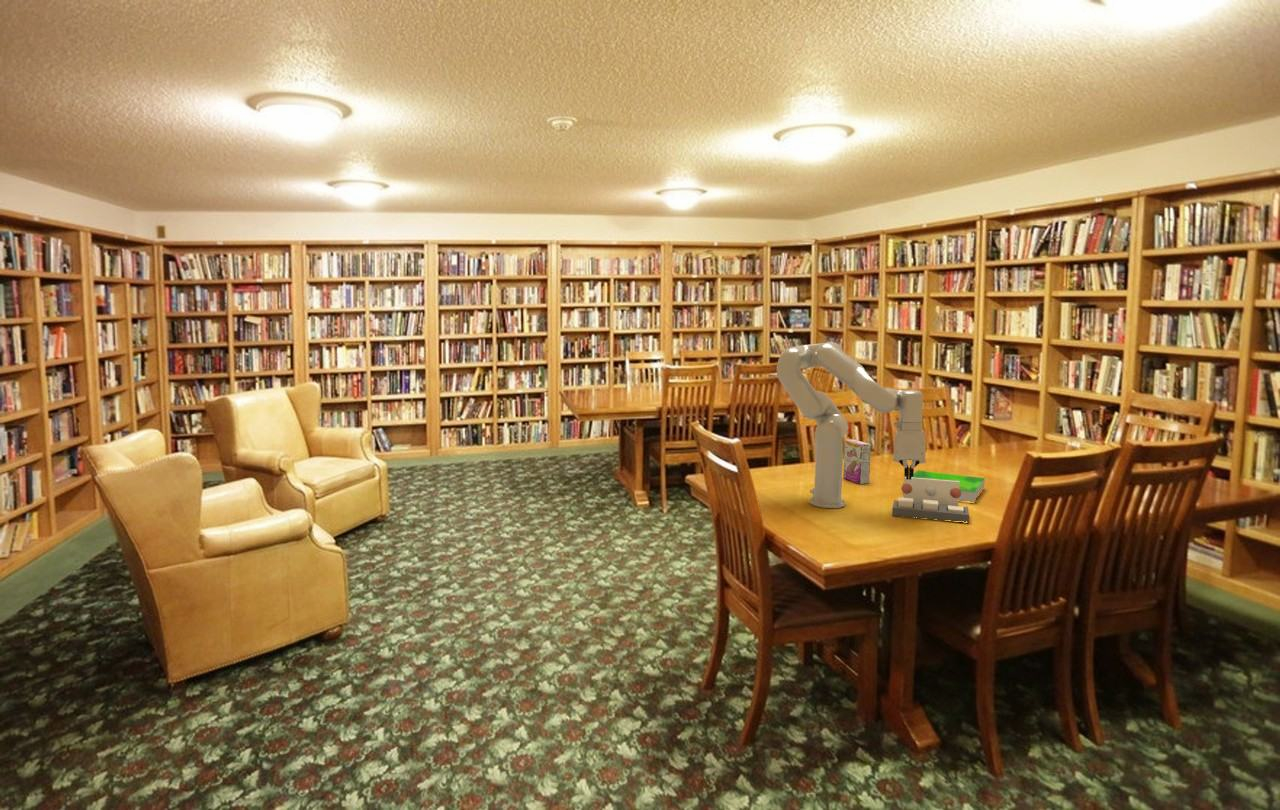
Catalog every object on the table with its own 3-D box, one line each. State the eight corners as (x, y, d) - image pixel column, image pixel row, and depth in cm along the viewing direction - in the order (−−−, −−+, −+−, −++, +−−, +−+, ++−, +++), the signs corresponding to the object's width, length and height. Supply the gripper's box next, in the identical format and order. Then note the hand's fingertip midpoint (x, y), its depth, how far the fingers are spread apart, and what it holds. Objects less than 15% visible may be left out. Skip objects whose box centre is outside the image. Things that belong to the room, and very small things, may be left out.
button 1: (897, 509, 252) (898, 500, 251) (898, 505, 256) (898, 497, 256) (912, 510, 250) (912, 502, 249) (912, 506, 254) (913, 498, 254)
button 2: (947, 517, 246) (948, 509, 246) (947, 513, 250) (947, 505, 250) (963, 519, 244) (963, 510, 244) (962, 515, 249) (963, 506, 248)
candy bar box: (842, 478, 303) (843, 439, 300) (852, 477, 304) (853, 439, 302) (859, 484, 292) (861, 444, 290) (869, 483, 294) (871, 443, 292)
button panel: (892, 516, 250) (893, 484, 249) (894, 505, 262) (895, 476, 261) (968, 523, 241) (970, 491, 240) (966, 512, 254) (968, 482, 252)
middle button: (922, 511, 249) (922, 503, 248) (922, 507, 253) (923, 499, 253) (937, 513, 247) (938, 504, 246) (937, 509, 251) (938, 500, 251)
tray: (983, 490, 285) (984, 478, 285) (973, 505, 265) (974, 492, 264) (917, 482, 299) (917, 470, 298) (902, 495, 278) (903, 482, 277)
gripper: (886, 427, 248) (885, 479, 250) (933, 428, 243) (932, 482, 245) (887, 423, 255) (886, 475, 257) (933, 425, 249) (932, 477, 252)
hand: (908, 478), depth 251 cm, fingers closed
